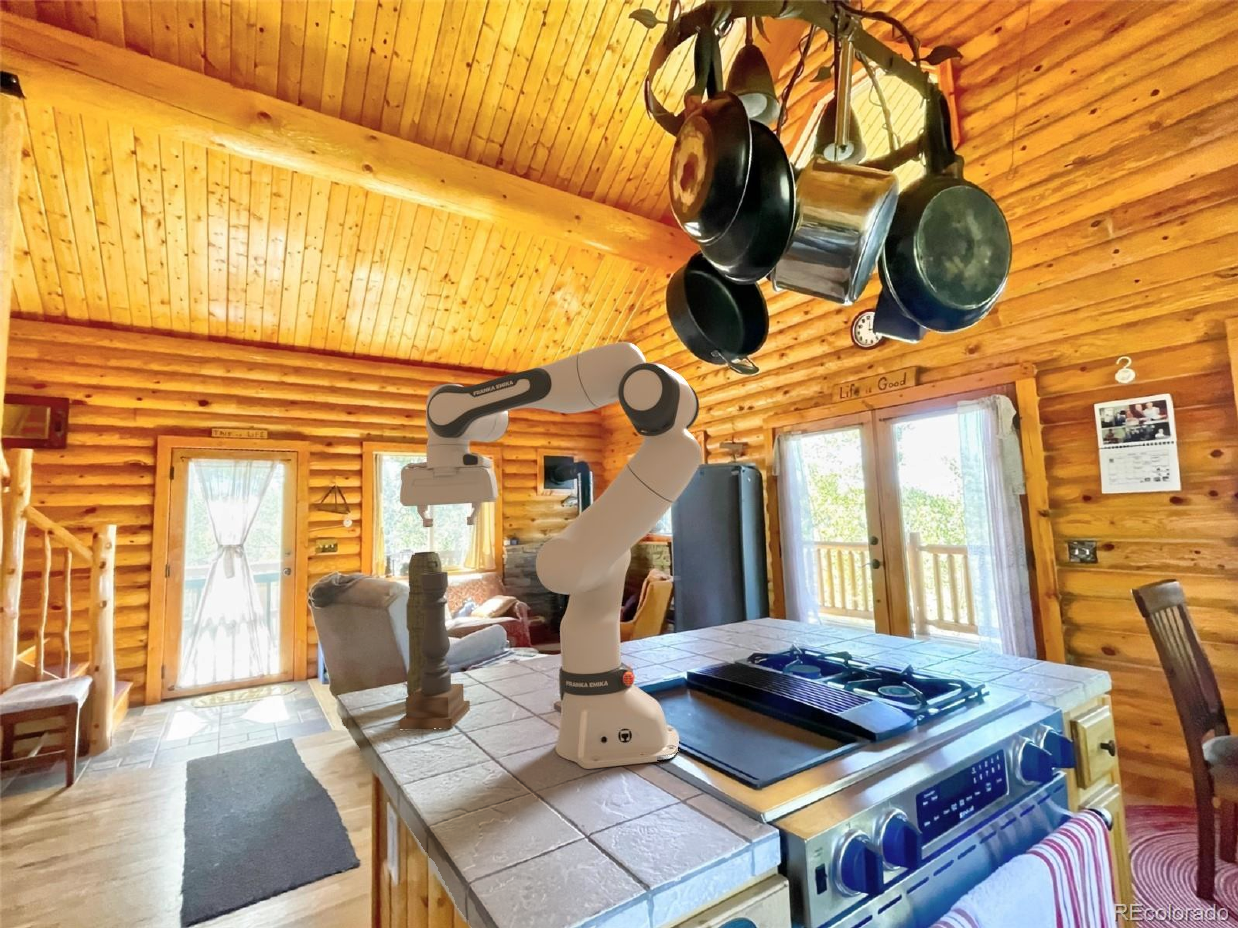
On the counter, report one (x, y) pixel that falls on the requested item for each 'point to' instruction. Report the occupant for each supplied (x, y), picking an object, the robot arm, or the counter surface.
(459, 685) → the walnut stand
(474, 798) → the counter surface
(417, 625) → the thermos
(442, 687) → the candle holder
